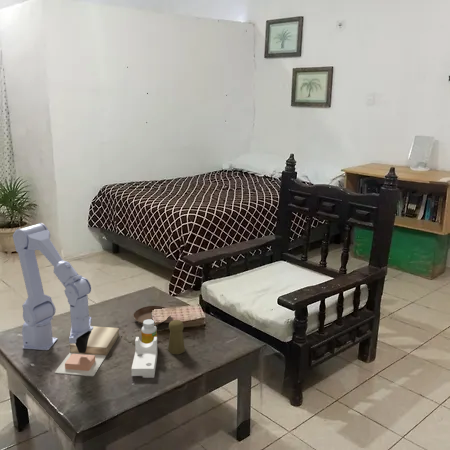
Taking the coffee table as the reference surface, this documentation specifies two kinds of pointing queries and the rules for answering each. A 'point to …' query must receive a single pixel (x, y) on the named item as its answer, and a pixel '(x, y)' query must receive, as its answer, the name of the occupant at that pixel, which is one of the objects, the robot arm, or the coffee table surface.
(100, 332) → the beige flat block
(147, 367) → the bracket
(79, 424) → the coffee table surface
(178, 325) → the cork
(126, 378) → the coffee table surface
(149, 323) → the supplement bottle
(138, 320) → the saucer
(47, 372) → the coffee table surface
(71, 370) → the mat
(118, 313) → the coffee table surface
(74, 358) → the tile
